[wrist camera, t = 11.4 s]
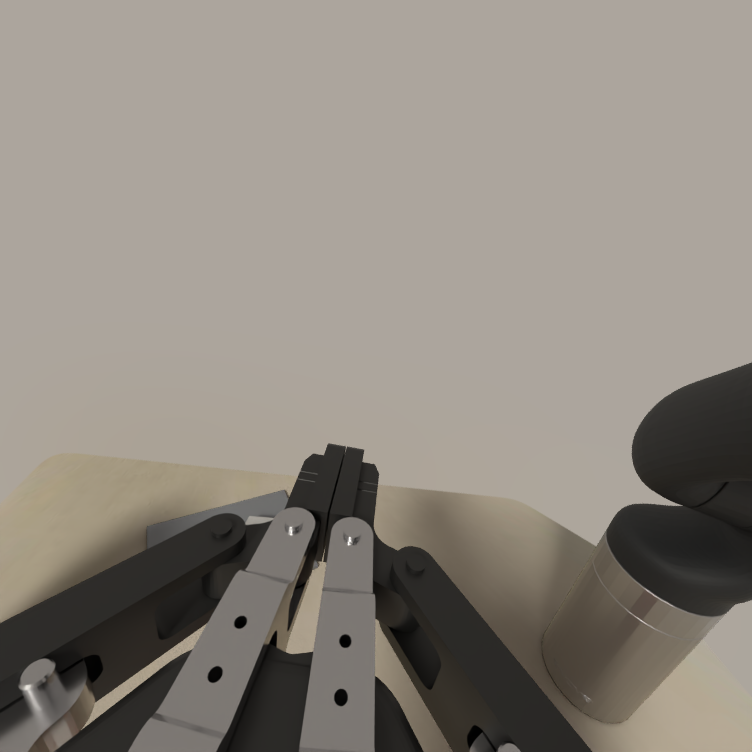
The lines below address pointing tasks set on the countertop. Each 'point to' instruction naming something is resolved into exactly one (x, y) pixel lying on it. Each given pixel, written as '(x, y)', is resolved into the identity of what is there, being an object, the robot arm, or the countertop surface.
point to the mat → (244, 509)
